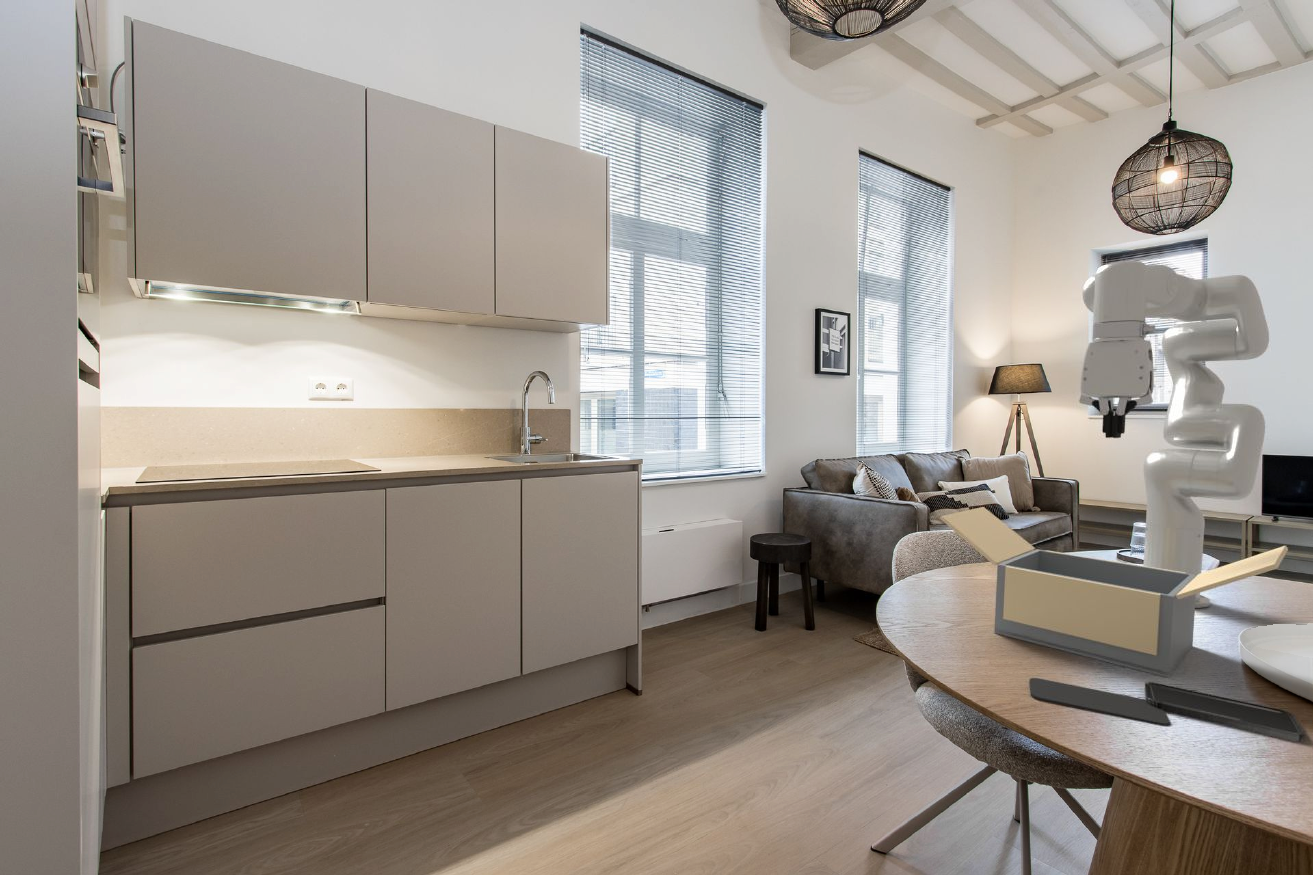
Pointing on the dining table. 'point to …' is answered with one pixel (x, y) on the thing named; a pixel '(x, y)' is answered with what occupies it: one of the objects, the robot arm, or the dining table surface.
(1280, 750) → the dining table surface
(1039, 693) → the phone
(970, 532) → the carton flap
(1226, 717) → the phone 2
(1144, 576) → the carton
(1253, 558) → the carton flap
